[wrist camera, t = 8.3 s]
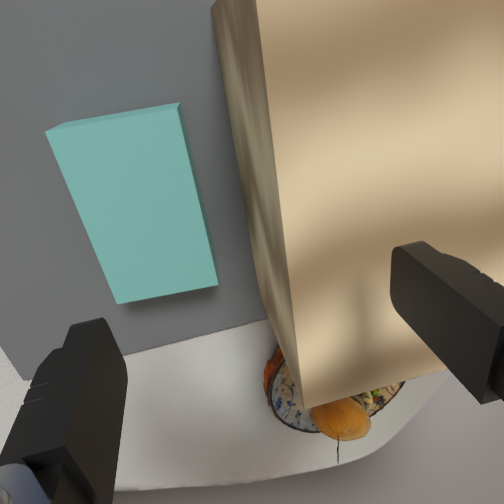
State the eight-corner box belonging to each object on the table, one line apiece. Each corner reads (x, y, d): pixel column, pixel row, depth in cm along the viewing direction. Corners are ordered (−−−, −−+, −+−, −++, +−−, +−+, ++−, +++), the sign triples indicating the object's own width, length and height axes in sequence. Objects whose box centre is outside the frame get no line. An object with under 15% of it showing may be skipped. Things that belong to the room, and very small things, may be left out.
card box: (176, 108, 15) (180, 101, 17) (44, 131, 15) (65, 122, 17) (218, 284, 19) (217, 261, 22) (117, 304, 19) (125, 279, 21)
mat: (-261, -57, 13) (-270, -59, 12) (420, -140, 15) (424, -143, 15) (25, 376, 23) (23, 380, 23) (395, 282, 26) (398, 284, 26)
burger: (374, 412, 33) (424, 496, 27) (251, 420, 30) (273, 517, 24) (420, 305, 28) (495, 377, 22) (277, 303, 25) (315, 386, 19)
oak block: (210, 7, 16) (250, -45, 8) (417, -25, 17) (627, -99, 9) (259, 295, 24) (304, 409, 16) (399, 261, 25) (505, 351, 17)
